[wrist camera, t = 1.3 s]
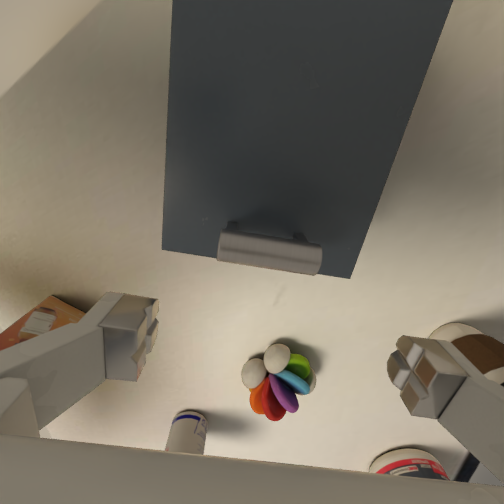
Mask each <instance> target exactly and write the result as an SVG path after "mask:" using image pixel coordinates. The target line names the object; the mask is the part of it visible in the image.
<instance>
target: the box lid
mask: <svg viewBox="0 0 504 504" xmlns="http://www.w3.org/2000/svg"><path fill="white" fill-rule="evenodd" d="M452 2H453V0H173V2H172V25H171V47H170V70H169V93H168V116H167V139H166V161H165V184H164V207H163V230H162V250H167V251H174V252H180V253H187V254H193V255H199V256H206V257H212V258H217V260H218V261H222V262H229V263H235V264H242V265H248V266H254V267H261V268H267V269H274V270H280V271H287V272H293V273H300V274H306V275H313V276H314V275H316V274H322V275H328V276H334V277H341V278H347V279H350V277H351V275H352V272H353V269H354V267H355V264H356V261H357V259H358V256H359V253H360V250H361V248H362V245H363V242H364V240H365V237H366V234H367V232H368V229H369V226H370V223H371V221H372V218H373V215H374V213H375V210H376V207H377V205H378V202H379V199H380V196H381V194H382V191H383V188H384V186H385V183H386V180H387V178H388V175H389V172H390V169H391V167H392V164H393V161H394V159H395V156H396V153H397V151H398V148H399V145H400V142H401V140H402V137H403V134H404V132H405V129H406V126H407V124H408V121H409V118H410V115H411V113H412V110H413V107H414V105H415V102H416V99H417V97H418V94H419V91H420V89H421V86H422V83H423V80H424V78H425V75H426V72H427V70H428V67H429V64H430V62H431V59H432V56H433V53H434V51H435V48H436V45H437V43H438V40H439V37H440V35H441V32H442V29H443V26H444V24H445V21H446V18H447V16H448V13H449V10H450V8H451V5H452Z"/></svg>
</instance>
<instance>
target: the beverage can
mask: <svg viewBox="0 0 504 504" xmlns="http://www.w3.org/2000/svg"><path fill="white" fill-rule="evenodd" d="M207 426H208V423H207V420H206V419H205V418H204V416H202V415H201V414H199V413H197V412H191V411H187V412H182V413H180V414H178V415H176V416H175V417H174V419H173V422H172V426H171V429H170V433H169V437H168V440H167V444H166V448H165V451H171V452H180V453H190V454H200V455H203V453H204V446H205V439H206V433H207Z"/></svg>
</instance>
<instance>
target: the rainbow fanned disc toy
mask: <svg viewBox="0 0 504 504" xmlns="http://www.w3.org/2000/svg"><path fill="white" fill-rule="evenodd" d="M241 377H242V381H243V383H244V385H245V386H246V387H247V388H249V390H250V392H251V394H250V405H251V408H252V409H253V411H254V412H256V413H258V414H265V415H266V417H267V418H268V419H269V420H272V421H278V420H280V419H282V418H283V416H284V415H285V413H286V410H287V411H288V412H291V413H294V412H296V411H297V410H298V408H299V404H298V400H297V397H296V395H295V393H296V394H299V395H307V394H309V393H310V392H312V391H313V389H314V388H315V385H316V375H315V372H314V371H313V369H312V368H311V367H310V364H309V361H308V360H307V359H306V358H305V357H304V356H302V355H299V354H290V349H289V348H288V347H287V346H286V345H284V344H273V345H271V346H270V347H269V348H268V349H267V350H266V352H265V354H264V361H263V360H261V359H251V360H249V361H248V362H246V364H245V365H244V366H243V369H242V373H241Z"/></svg>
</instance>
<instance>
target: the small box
mask: <svg viewBox="0 0 504 504" xmlns="http://www.w3.org/2000/svg"><path fill="white" fill-rule="evenodd" d="M85 314H86V313H84V312H82V311H80V310H78V309H76V308H74V307H72V306H70V305H68V304H66V303H64V302H62V301H61V300H59V299H57V298H56V297H54V296H49V297H47V298H46V299H45V300H43V301H42V302H41V303H40V304H38V305H37V306H36V307H34V308H33V309H32V310H30V311H29V312H28V313H27V314H25V315H24V316H23V317H21V318H20V319H19V320H17V321H16V322H15V323H13V324H12V325H11V326H10V327H8V328H7V329H6V330H5V331H3V332H2V333H1V334H0V351H1V350H4V349H6V348H9V347H11V346H14V345H16V344H19V343H21V342H24V341H26V340H29V339H31V338H34V337H36V336H39V335H41V334H44V333H47V332H49V331H52V330H54V329H57V328H59V327H62V326H64V325H67V324H69V323H78V322H79V320H80V319H81V318H82V317H83V316H84V315H85Z"/></svg>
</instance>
